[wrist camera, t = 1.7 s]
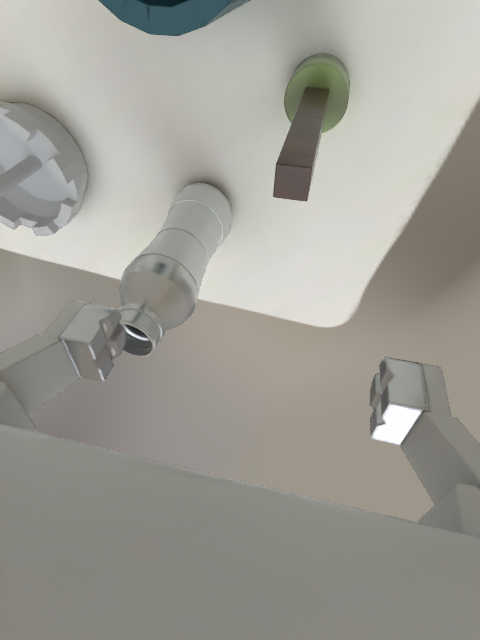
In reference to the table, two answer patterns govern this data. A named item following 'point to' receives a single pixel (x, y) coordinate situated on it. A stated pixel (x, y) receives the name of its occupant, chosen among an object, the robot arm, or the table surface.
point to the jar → (170, 14)
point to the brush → (309, 121)
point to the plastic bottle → (172, 267)
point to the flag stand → (38, 170)
